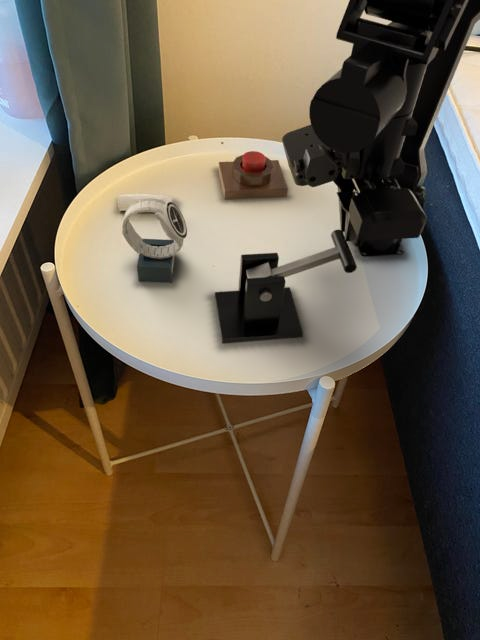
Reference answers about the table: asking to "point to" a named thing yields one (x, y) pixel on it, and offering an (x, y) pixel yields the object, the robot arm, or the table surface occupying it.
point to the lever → (310, 260)
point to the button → (253, 162)
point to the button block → (252, 180)
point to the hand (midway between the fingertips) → (347, 235)
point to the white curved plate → (136, 199)
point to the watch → (156, 252)
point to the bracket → (257, 306)
